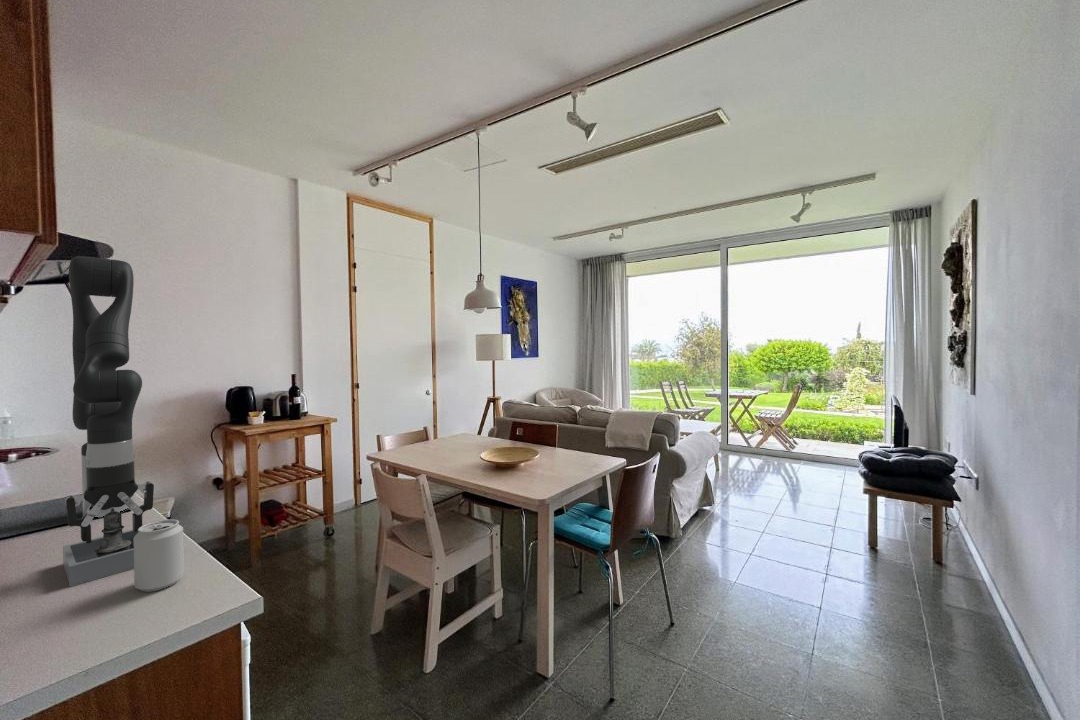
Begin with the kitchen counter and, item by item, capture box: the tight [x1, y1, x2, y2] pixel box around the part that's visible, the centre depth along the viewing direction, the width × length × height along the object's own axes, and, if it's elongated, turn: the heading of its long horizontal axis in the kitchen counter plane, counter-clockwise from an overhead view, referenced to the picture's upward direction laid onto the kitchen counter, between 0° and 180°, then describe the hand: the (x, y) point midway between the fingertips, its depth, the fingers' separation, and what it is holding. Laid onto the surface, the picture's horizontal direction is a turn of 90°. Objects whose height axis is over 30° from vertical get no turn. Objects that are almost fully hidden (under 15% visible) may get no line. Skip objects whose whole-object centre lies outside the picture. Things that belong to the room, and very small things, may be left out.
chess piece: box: [94, 508, 131, 558], centre depth 96 cm, size 6×6×12 cm
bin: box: [62, 529, 138, 587], centre depth 96 cm, size 14×14×4 cm
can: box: [133, 519, 185, 593], centre depth 88 cm, size 8×8×12 cm
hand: (112, 536), depth 96 cm, fingers open, 7 cm apart
